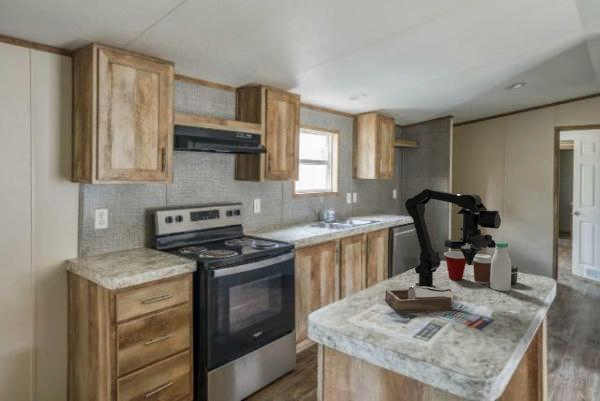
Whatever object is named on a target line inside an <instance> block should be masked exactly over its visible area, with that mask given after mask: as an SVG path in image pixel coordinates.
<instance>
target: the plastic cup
mask: <svg viewBox="0 0 600 401" xmlns="http://www.w3.org/2000/svg"><path fill="white" fill-rule="evenodd" d="M443 255H444V258H445V261H446V268H447V274H448V278H449V280H453V281H462V280H463V277H464V273H465V270H466V264H467V262H466V260H465V257H464V255H463V253H462V251H456V250H455V251H454V250H452V251H446V252H444V253H443Z"/></svg>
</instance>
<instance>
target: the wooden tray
mask: <svg viewBox="0 0 600 401" xmlns="http://www.w3.org/2000/svg"><path fill="white" fill-rule="evenodd" d="M408 289H409V288H405V289H404V288H403V289H401V288H400V289H386V290H385V298H384V302H386V303H387V304H388V305H389V306H390V307H391V308H393V310H395V312H397V313H398V314H400V315H404V314H419V313H420V314H421V313H437V312H438V313H439V312H452V311H453V308H452V303H451V299H452V298H451V297H441V298H421V299H408Z"/></svg>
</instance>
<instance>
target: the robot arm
mask: <svg viewBox="0 0 600 401" xmlns="http://www.w3.org/2000/svg"><path fill="white" fill-rule="evenodd" d="M480 196H481V195H478V194H476V193H463V194H462V193H460V194H459V193H453V192H448V191H444V190H443V191H442V190H437V189H434V188H425V189H423V190H422V191H421V192H419V193H418V194H416V195H414V196H413V197H411V198H408V199H406V201H405V202H404V207H405V209H406V212H407V214H408V215H409V217H410V218H411V219H412V222H413V225H414V229H415V232H416V236H417V240H418V244H419V248H420V254H419V264H418V265H417V266H415V268H414V272H415V274H418V282H415V286H428V287H433V288H437V286H435V285H434V281H433V280H434V278H433V277H434V276H433V275H434V273H436V272H437V269H439V267H440V265H441V261H442V259H441V258H440V253H439V251H435V250H434V249H433V246H432V242H431V238H430V234H429V231H428V227H427V223H426V220H425V214H426V213H425V212H426V207H425V206H426V205H427V204H429V202H430V201H431V200H437V201H441V202H446V203H451V204H454V205H456V206H458V207H460V210H459V211H457V214H458V215H462V227H460V231H462V233H461V234H462V237H460V240H457V239H456V238H455V239H446V240H445V241H444V247H445V248H448V249H451V250H460V252H462V253H463V255H464V257H465V260H466V264H467V266H472V264H473V259H474V257H475V255H476V254H478V252H480V251H483V249H487V248H489V249H494V248H495V249H496V242H495V240H493V236H492V235H491V234H482V231H481V229H479V226H480V228H484V229H485V228H486V229H495V230H498V229H500V227H501V223H502V219H501V216H500V215H501V214H499V213H500V212H499V210H488V209H487V208H486V206H485V205H484V203H483V202H482V198H481V197H480Z"/></svg>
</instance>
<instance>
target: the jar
mask: <svg viewBox="0 0 600 401" xmlns="http://www.w3.org/2000/svg"><path fill="white" fill-rule="evenodd" d="M518 274H519V270H518V266H517V265H514V264H511V286H512V285H515V284H517V282H518Z"/></svg>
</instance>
